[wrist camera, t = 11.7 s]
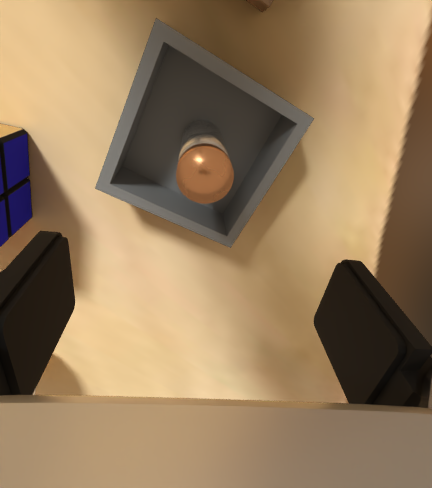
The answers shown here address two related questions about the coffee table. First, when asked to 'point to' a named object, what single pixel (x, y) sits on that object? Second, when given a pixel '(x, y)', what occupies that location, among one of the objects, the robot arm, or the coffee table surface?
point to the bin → (184, 113)
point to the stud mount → (261, 4)
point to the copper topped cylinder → (203, 164)
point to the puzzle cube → (13, 181)
